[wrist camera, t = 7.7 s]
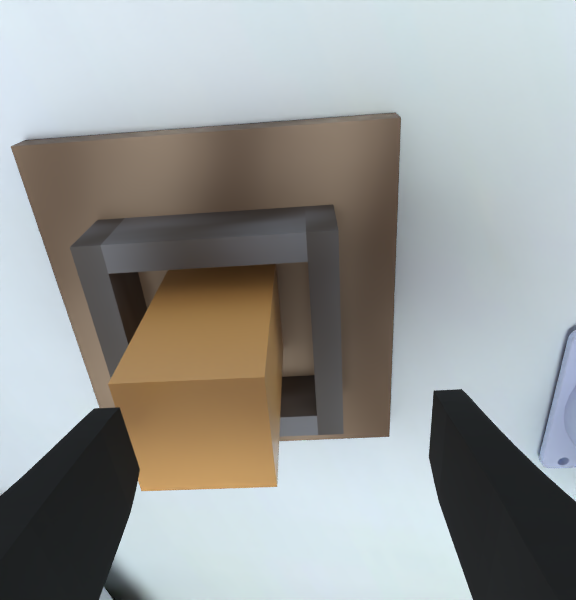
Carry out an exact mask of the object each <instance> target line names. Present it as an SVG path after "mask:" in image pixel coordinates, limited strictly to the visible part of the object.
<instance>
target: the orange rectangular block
mask: <svg viewBox="0 0 576 600" xmlns="http://www.w3.org/2000/svg"><path fill="white" fill-rule="evenodd" d="M282 366H283V339H282V327H281V316H280V305H279V293H278V282H277V271H276V264H264V265H247V266H230V267H213V268H196V269H179V270H168V271H167V273H166V275H165V277H164V279H163V281H162V283H161V284H160V286H159V288H158V290H157V292H156V294H155V296H154V298H153V300H152V301H151V303H150V305H149V307H148V309H147V311H146V313H145V315H144V317H143V319H142V320H141V322H140V324H139V326H138V328H137V330H136V332H135V334H134V336H133V338H132V339H131V341H130V343H129V345H128V347H127V349H126V351H125V353H124V355H123V357H122V358H121V360H120V362H119V364H118V366H117V368H116V370H115V372H114V374H113V375H112V377H111V379H110V381H109V383H108V385H109V389H110V392H111V395H112V398H113V401H114V405H115V407H120V410H121V413H122V416H123V419H124V422H125V425H126V428H127V431H128V434H129V437H130V440H131V443H132V446H133V449H134V452H135V455H136V458H137V461H138V465H139V468H140V472H139V477H138V481H139V485H140V488H141V491H160V490H191V489H222V488H253V487H277V477H278V455H279V433H280V411H281V388H282Z"/></svg>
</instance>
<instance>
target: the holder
mask: <svg viewBox="0 0 576 600" xmlns="http://www.w3.org/2000/svg"><path fill="white" fill-rule="evenodd" d="M400 127H401V117H400V116H398V115H397V114H396V113H386V114H372V115H359V116H345V117H332V118H318V119H305V120H292V121H278V122H265V123H251V124H238V125H224V126H211V127H197V128H184V129H170V130H157V131H143V132H130V133H116V134H103V135H90V136H76V137H63V138H49V139H36V140H25V141H22V142H20V143H18V144H15V145H13V146H11V149H12V152H13V155H14V157H15V160H16V163H17V166H18V169H19V172H20V175H21V178H22V181H23V184H24V187H25V190H26V193H27V196H28V199H29V202H30V205H31V207H32V210H33V213H34V216H35V219H36V222H37V225H38V228H39V231H40V234H41V237H42V240H43V243H44V246H45V249H46V252H47V255H48V257H49V260H50V263H51V266H52V269H53V272H54V275H55V278H56V281H57V284H58V287H59V290H60V293H61V296H62V299H63V302H64V304H65V307H66V310H67V313H68V316H69V319H70V322H71V325H72V328H73V331H74V334H75V337H76V340H77V343H78V346H79V349H80V352H81V354H82V357H83V360H84V363H85V366H86V369H87V372H88V375H89V378H90V381H91V384H92V387H93V390H94V393H95V396H96V399H97V401H98V404H99V407H100V408H115V405H114V401H113V398H112V395H111V392H110V389H109V385H108V383H109V381H110V379H111V377H112V375H113V374H114V372H115V370H116V368H117V366H118V364H119V362H120V360H121V358H122V357H123V355H124V353H125V351H126V349H127V347H128V345H129V343H130V341H131V339H132V338H133V336H134V334H135V332H136V330H137V328H138V326H139V324H140V322H141V320H142V319H143V317H144V315H145V313H146V311H147V309H148V307H149V305H150V303H151V301H152V300H153V298H154V296H155V294H156V292H157V290H158V288H159V286H160V284H161V283H162V281H163V279H164V277H165V275H166V273H167V271H168V270H179V269H196V268H213V267H230V266H247V265H264V264H276V271H277V282H278V293H279V305H280V316H281V327H282V339H283V366H282V388H281V411H280V433H279V441H294V440H319V439H343V438H368V437H389V429H390V402H391V374H392V347H393V320H394V292H395V265H396V237H397V210H398V182H399V155H400Z"/></svg>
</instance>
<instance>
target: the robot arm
mask: <svg viewBox="0 0 576 600" xmlns="http://www.w3.org/2000/svg"><path fill="white" fill-rule="evenodd" d="M429 459H430V464H431V469H432V473H433V478H434V483H435V487H436V491H437V495H438V500H439V503H440V506H441V509H442V512H443V515H444V518H445V520H446V523H447V526H448V529H449V532H450V535H451V538H452V541H453V544H454V547H455V549H456V552H457V555H458V558H459V561H460V564H461V567H462V569H463V572H464V575H465V578H466V581H467V584H468V587H469V589H470V592H471V595H472V598H473V600H576V501H574V500H573V499H572V498H571V497H570V496H569V495H567V494H566V493H565V492H564V491H563V490H562V489H561V488H560V487H558V486H557V485H556V484H555V483H554V482H553V481H552V480H551V479H549V478H548V477H547V476H546V475H545V474H544V473H543V472H542V471H541V470H540V469H539V468H538V467H537V466H536V465H534V464H533V463H532V462H531V461H530V460H529V459H528V458H527V457H526V456H525V455H524V454H523V453H522V452H521V451H520V450H519V449H518V448H517V447H516V446H515V445H514V444H513V443H512V442H511V441H510V440H509V439H508V438H507V437H506V436H505V435H504V434H503V433H502V432H501V431H500V430H499V428H498V427H497V426H496V425H495V424H494V423H493V422H492V421H491V420H490V419H489V418H488V417H487V416H486V415H485V414H484V412H483V411H482V410H481V409H480V408H479V407H478V406H477V405H476V404H475V403H474V401H473V400H472V399H471V398H470V397H469V396H468V395H467V394H466V393H465V392H464V391H463V390H462V389H459V390H439V391H434V395H433V408H432V422H431V435H430V449H429ZM539 460H540V461H541V463H542V465H543V466H544V467H546V468H571V467H576V330H574V331H573V332H572V333H571V334H570V335H569V337H568V341H567V345H566V349H565V353H564V357H563V361H562V366H561V370H560V374H559V378H558V382H557V386H556V390H555V394H554V398H553V402H552V406H551V410H550V415H549V419H548V423H547V427H546V431H545V435H544V439H543V443H542V447H541V451H540V455H539ZM139 472H140V468H139V465H138V461H137V458H136V455H135V452H134V449H133V446H132V443H131V440H130V437H129V434H128V431H127V428H126V425H125V422H124V419H123V416H122V413H121V410H120V407H115V408H96V409H93V410H92V411H91V412H90V413H89V414H88V415H87V416H86V417H84V418H83V419H82V420H81V421H80V422H79V423H78V424H77V425H76V426H75V427H74V428H73V429H72V430H71V431H70V432H69V433H68V434H67V435H66V436H65V437H64V438H63V439H61V440H60V441H59V442H58V443H57V444H56V445H55V446H54V447H53V448H52V449H51V450H50V451H49V452H48V453H47V454H46V455H45V456H44V457H43V458H42V459H41V460H39V461H38V462H37V463H36V464H35V465H34V466H33V467H32V468H31V469H30V470H29V471H28V472H27V473H26V474H25V475H24V476H22V477H21V478H20V479H19V480H18V481H17V482H16V483H15V484H13V485H12V486H11V487H10V488H9V489H8V490H7V491H6V492H4V493H3V494H2V495H1V496H0V600H99V598H100V595H101V593H102V590H103V587H104V584H105V582H106V579H107V576H108V574H109V571H110V568H111V565H112V563H113V560H114V557H115V554H116V552H117V549H118V546H119V543H120V541H121V538H122V535H123V532H124V529H125V527H126V524H127V521H128V518H129V515H130V512H131V508H132V504H133V500H134V496H135V491H136V487H137V482H138V477H139Z"/></svg>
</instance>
